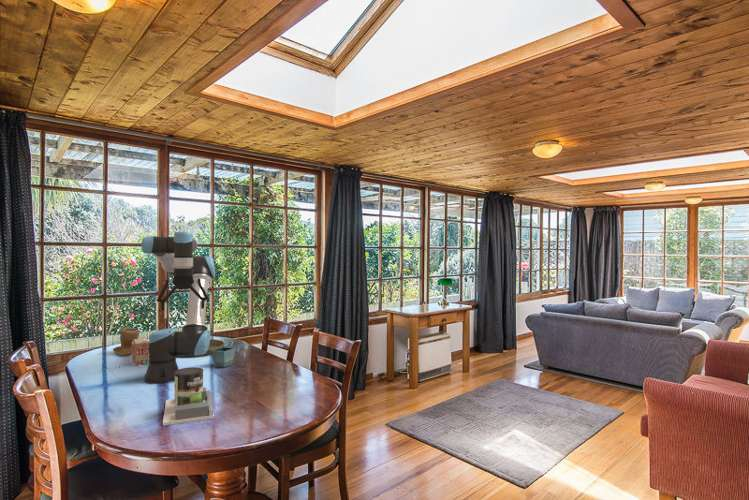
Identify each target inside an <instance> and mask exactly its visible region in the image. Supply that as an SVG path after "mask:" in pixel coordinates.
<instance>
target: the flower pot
mask: <svg viewBox="0 0 749 500" xmlns="http://www.w3.org/2000/svg"><path fill="white" fill-rule="evenodd" d="M211 351H212V355H211V356H212V361H213V363H214V365H215V366H216V367H217V368H218V367H219V368H225V367H228V366H231V364H232V363H233V361H234V359H235V354H236V353H235V352H236V348H235V347H227V346H224V347H221V348H217V349H214V350H211Z"/></svg>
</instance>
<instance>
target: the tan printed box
mask: <svg viewBox="0 0 749 500" xmlns="http://www.w3.org/2000/svg"><path fill="white" fill-rule="evenodd" d="M148 342H149V339H147V338H145V337H143V338H142V337H141V338H138V339H133V342H132V354H131V358H132V362H133V363H134V366H135V367H140V366H139V365H143V366H148V364H149V344H148Z"/></svg>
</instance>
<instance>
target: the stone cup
mask: <svg viewBox="0 0 749 500" xmlns="http://www.w3.org/2000/svg"><path fill="white" fill-rule="evenodd" d="M139 336H140V330H139V328H138V329H136V328H133V327H124V328H122V329H121V331H120V335H119V339H120V346H115V347H114V348H112V351H113V352H114V353H115V354H117V355H119V356H131V355H132V342H133V339H139Z"/></svg>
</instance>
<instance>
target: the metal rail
mask: <svg viewBox="0 0 749 500" xmlns="http://www.w3.org/2000/svg"><path fill="white" fill-rule="evenodd" d="M206 391H207V402H208V411H209V416H213V411H214V405H213V397H212V390H210V389H206Z"/></svg>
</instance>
